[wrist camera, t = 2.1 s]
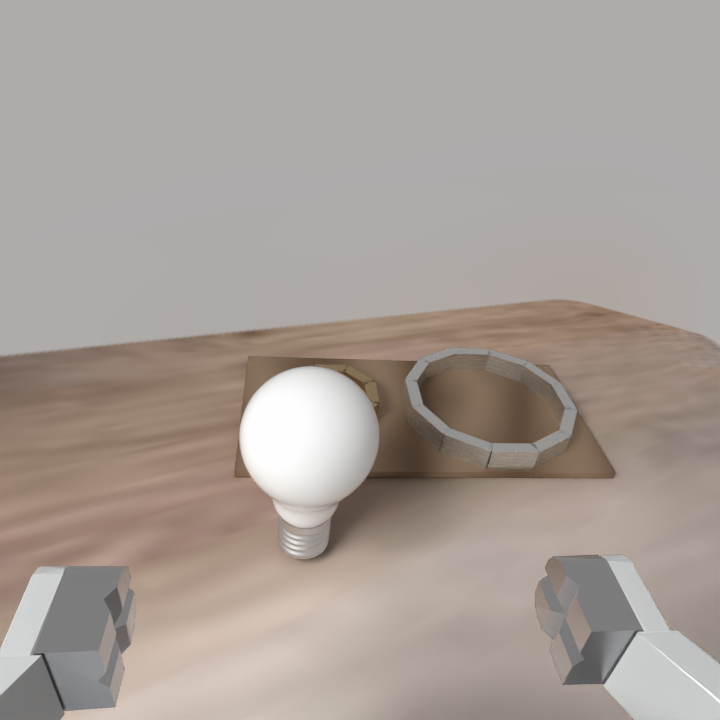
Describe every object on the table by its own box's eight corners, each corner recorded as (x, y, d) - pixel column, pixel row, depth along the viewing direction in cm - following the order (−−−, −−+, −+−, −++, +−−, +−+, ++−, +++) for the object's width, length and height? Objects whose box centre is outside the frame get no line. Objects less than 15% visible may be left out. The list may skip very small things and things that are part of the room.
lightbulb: (297, 483, 35) (305, 325, 28) (385, 540, 32) (415, 378, 26) (216, 551, 30) (205, 381, 24) (310, 624, 27) (324, 453, 21)
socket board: (234, 476, 34) (233, 452, 33) (248, 361, 44) (248, 339, 43) (612, 478, 38) (623, 455, 36) (547, 370, 47) (554, 349, 46)
